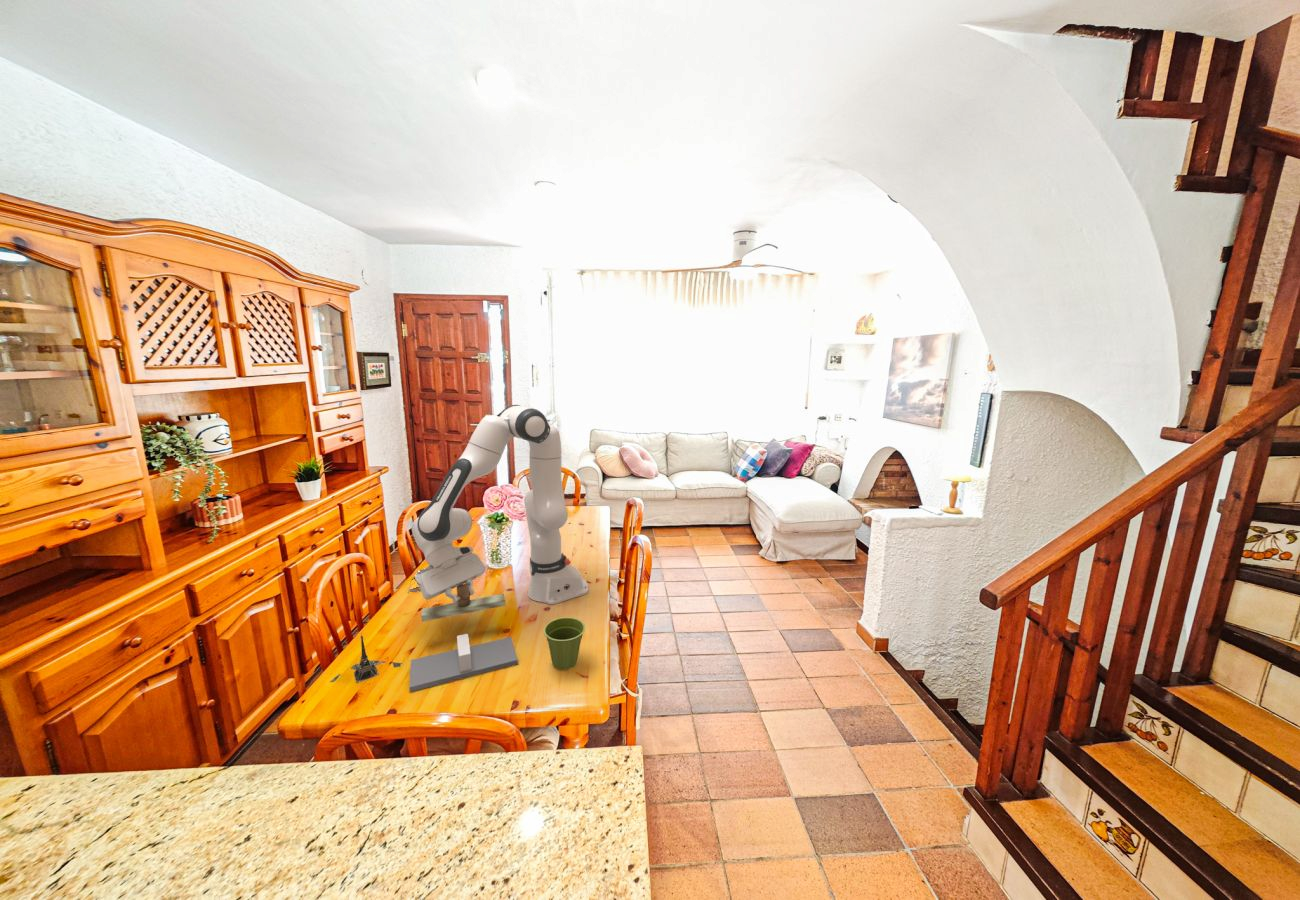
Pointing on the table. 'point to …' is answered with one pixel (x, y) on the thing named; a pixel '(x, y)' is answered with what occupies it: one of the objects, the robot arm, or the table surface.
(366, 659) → the eiffel tower figurine
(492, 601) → the balance beam
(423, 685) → the stand
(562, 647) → the plant pot
